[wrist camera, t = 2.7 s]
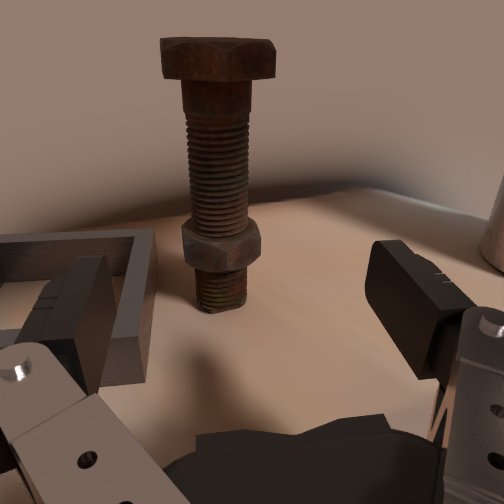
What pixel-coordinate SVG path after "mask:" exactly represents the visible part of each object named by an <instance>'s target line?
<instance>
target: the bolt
mask: <svg viewBox="0 0 504 504" xmlns="http://www.w3.org/2000/svg"><path fill="white" fill-rule="evenodd" d="M160 50H161V63H162V73H163V76H164V79H176V80H181V88H182V100H183V111H184V113H185V116H186V119H187V122H186V125H187V126H188V128H187V129H186V132H187V133H188V135H187V139H188V140H189V141H188V142H187V146H189V148H188V153H189V154H188V159H189V162H188V164H189V166H190V167H189V171H190V173H189V177H190V180H189V182H190V184H191V185H190V190H191V191H190V195H191V198H190V199H191V201H192V202H191V206H192V208H191V212H192V214H191V216H192V218H190V219H189V220H187V221H186V222H185V223H184V224H183V225H182V239H183V249H184V257H185V262H186V263H188V264H189V265H191V266H192V267H194V268H195V273H196V274H195V277H196V279H195V280H196V295H197V302H198V303H200V305H201V306H203V307H204V308H205V310H206V311H208V312H211V313H218V312H223V311H227V310H232V309H236V308H240V307H241V306H242V305H244V304H245V302H246V298H247V293H246V292H247V289H246V288H247V266H248V265H250V264H251V263H253V262H254V261H255V260H256V259H257V258H258V257H259V256H260V255H261V236H260V232H259V229H258V226H257V224H256V222H255V221H254V220H253V219H251V218H249V217H248V210H247V209H248V204H247V203H248V193H247V192H248V187H247V186H248V173H249V172H248V164H247V163H248V158H247V156H248V155H249V153H248V151H247V150H248V149H249V145H248V142H249V138H248V136H249V132H248V130H249V125H248V123H249V113H250V112H251V95H252V93H251V92H252V80H259V79H269V78H275V70H276V50H275V47H274V45H273V43H272V42H271V41H270V40H268V39H249V38H229V37H172V38H160Z"/></svg>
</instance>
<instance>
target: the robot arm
mask: <svg viewBox="0 0 504 504" xmlns="http://www.w3.org/2000/svg"><path fill="white" fill-rule="evenodd" d="M480 251H481V253H482V255H483V256H484V258H485V259H486V260H487V261H488V262H489V263H490V264H492V265H493V266H494V267H496V268H497V269H499V270H500V271H502V272H504V176H503V179H502V181H501V184H500V187H499V190H498V193H497V196H496V199H495V202H494V205H493V208H492V211H491V214H490V217H489V220H488V223H487V226H486V229H485V232H484V235H483V238H482V241H481V244H480ZM365 295H366V298H367V301H368V303H369V305H370V306H371V308H372V309H373V311H374V312H375V314H376V315H377V317H378V318H379V320H380V321H381V323H382V325H383V326H384V328H385V329H386V331H387V332H388V334H389V335H390V337H391V338H392V340H393V341H394V343H395V344H396V346H397V348H398V349H399V351H400V352H401V354H402V355H403V357H404V358H405V360H406V361H407V363H408V364H409V366H410V367H411V369H412V371H413V372H414V374H415V375H416V377H417V378H418V380H423V379H433V378H437V380H438V381H439V385H438V388H437V391H436V395H435V400H434V405H433V410H432V415H431V420H430V426H429V431H428V435H427V439H424V438H422V437H420V436H417V435H414V434H411V433H408V432H404V431H399V430H395V429H391V428H390V426H389V424H388V422H387V420H386V418H385V416H384V414H376V415H367V416H358V417H349V418H341V419H337V420H335V421H332V422H329V423H327V424H324V425H322V426H319V427H317V428H314V429H311V430H309V431H306V432H304V433H301V434H298V435H287V434H278V433H270V432H261V431H252V430H236V431H227V432H218V433H210V434H201V435H196V451H195V452H192V453H190V454H187V455H185V456H183V457H181V458H179V459H177V460H175V461H174V462H172V463H171V464H169V465H168V466H166V467H165V468H164V469H163V470H162V469H161V468H160V467H159V466H158V465H157V463H156V462H155V461H154V460H153V459H152V458H151V456H150V455H149V454H148V453H147V452H146V450H145V449H144V448H143V447H142V446H141V444H140V443H139V442H138V441H137V440H136V439H135V437H134V436H133V435H132V434H131V433H130V431H129V430H128V429H127V428H126V427H125V426H124V424H123V423H122V422H121V421H120V420H119V418H118V417H117V416H116V415H115V414H114V413H113V411H112V410H111V409H110V408H109V407H108V405H107V404H106V403H105V402H104V401H103V400H102V398H101V397H100V396H99V395H98V390H99V386H100V382H101V378H102V373H103V369H104V365H105V361H106V356H107V352H108V348H109V344H110V339H111V335H112V331H113V327H114V322H115V315H116V306H115V298H114V292H113V287H112V282H111V276H110V271H109V265H108V261H107V258H106V256H105V255H95V256H78V257H76V259H75V261H74V263H73V266H72V268H71V270H70V272H69V274H64V275H57V276H56V277H55V278H54V279H52V280H51V281H50V282H49V283H47V284H46V285H45V286H44V288H43V290H42V291H41V293H40V295H39V297H38V301H36V303H35V305H34V306H33V308H32V309H33V311H31V312H30V314H29V316H28V318H27V320H26V321H25V323H24V325H23V327H22V329H21V331H20V333H19V335H18V336H17V338H16V340H15V342H14V344H13V345H12V346H9V347H6V348H4V349H2V350H0V474H2V473H5V472H7V471H10V470H13V469H16V471H17V473H18V475H19V477H20V479H21V481H22V483H23V484H24V486H25V488H26V490H27V492H28V494H29V496H30V498H31V500H32V502H33V503H34V504H504V312H503V311H500V310H497V309H494V308H489V307H480V306H479V307H478V306H477V305H476V304H475V303H474V302H473V301H472V300H471V299H470V298H469V297H467V296H466V295H465V294H464V293H463V292H462V291H461V290H460V289H459V288H458V287H457V286H456V285H455V284H454V283H453V282H451V280H450V279H449V278H448V277H447V276H446V275H445V274H442V271H441V270H440V269H439V268H438V267H437V266H436V265H435V264H434V263H433V262H431V261H429V260H427V259H425V258H424V257H422V256H420V255H418V254H414V252H413V251H412V250H411V249H410V248H409V247H408V246H407V245H406V244H405V243H404V242H403V241H401V240H383V241H375V242H374V243H373V245H372V249H371V254H370V259H369V264H368V270H367V275H366V280H365Z"/></svg>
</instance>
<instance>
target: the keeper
mask: <svg viewBox="0 0 504 504" xmlns="http://www.w3.org/2000/svg"><path fill="white" fill-rule="evenodd" d="M95 255H105V256H106V258H107V261H108V265H109V271H110V276H113V275H126V276H125V280H124V285H123V289H122V293H121V297H120V302H119V306H118V310H117V314H116V319H115V322H114V327H113V331H112V335H111V339H110V344H109V348H108V352H107V356H106V361H105V365H104V369H103V373H102V378H101V382H100V386H99V387H103V386H114V385H124V384H135V383H145V380H146V371H147V362H148V353H149V344H150V335H151V326H152V317H153V308H154V299H155V290H156V281H157V272H158V256H157V247H156V239H155V230H154V228H137V229H115V230H93V231H71V232H50V233H28V234H8V235H0V288H1V287H2V285H3V284H4V282H14V281H30V280H47V279H54V278H55V277H56V276H57V275H64V274H69V272H70V270H71V268H72V266H73V263H74V261H75V259H76V257H78V256H95ZM20 331H21V329H9V330H0V350H2V349H4V348H6V347H9V346H12V345H13V344H14V342H15V340H16V338H17V336H18V335H19V333H20Z"/></svg>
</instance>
